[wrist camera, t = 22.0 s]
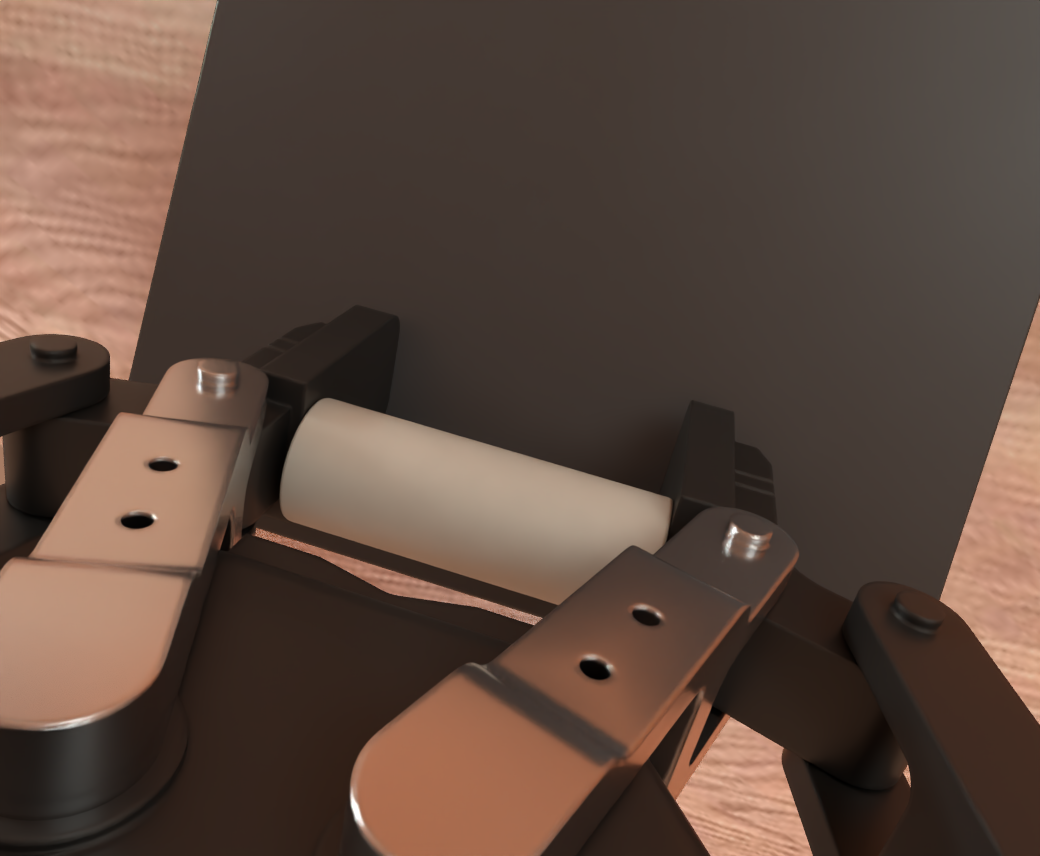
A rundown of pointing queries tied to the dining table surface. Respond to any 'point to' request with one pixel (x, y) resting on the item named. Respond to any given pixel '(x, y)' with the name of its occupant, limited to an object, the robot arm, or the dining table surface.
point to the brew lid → (618, 266)
